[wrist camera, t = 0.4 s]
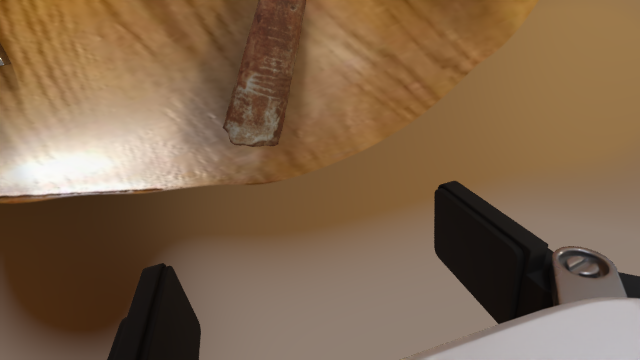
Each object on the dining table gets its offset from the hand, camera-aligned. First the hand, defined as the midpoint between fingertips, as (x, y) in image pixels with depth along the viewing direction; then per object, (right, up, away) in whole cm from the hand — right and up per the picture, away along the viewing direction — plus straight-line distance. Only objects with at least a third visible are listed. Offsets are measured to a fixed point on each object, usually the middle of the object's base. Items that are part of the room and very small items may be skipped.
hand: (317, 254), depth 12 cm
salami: (-6, +17, +25) cm, 31 cm away
